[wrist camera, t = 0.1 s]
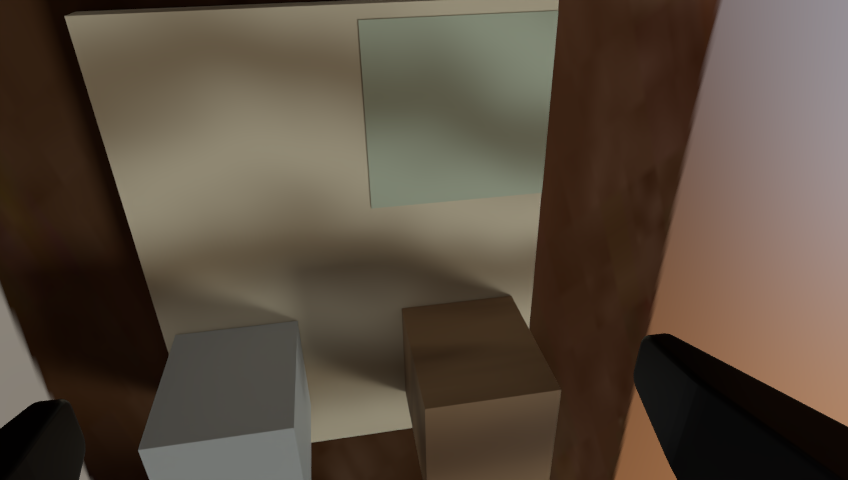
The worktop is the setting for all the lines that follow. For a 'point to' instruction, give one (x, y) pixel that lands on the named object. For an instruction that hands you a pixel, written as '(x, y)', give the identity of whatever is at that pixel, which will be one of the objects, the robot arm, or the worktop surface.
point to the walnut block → (478, 392)
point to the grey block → (231, 408)
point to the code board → (327, 170)
